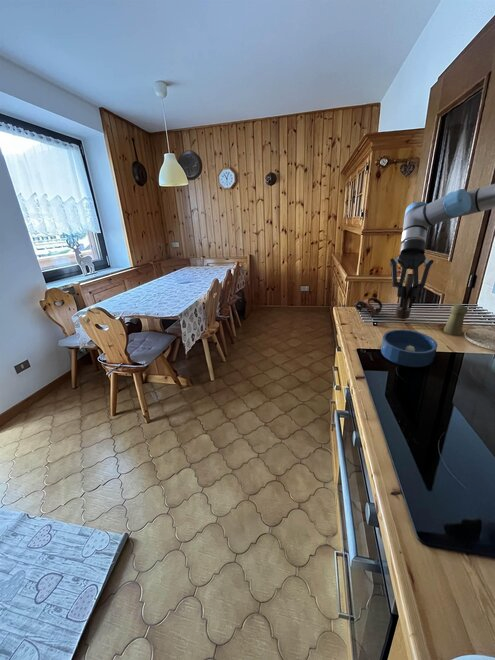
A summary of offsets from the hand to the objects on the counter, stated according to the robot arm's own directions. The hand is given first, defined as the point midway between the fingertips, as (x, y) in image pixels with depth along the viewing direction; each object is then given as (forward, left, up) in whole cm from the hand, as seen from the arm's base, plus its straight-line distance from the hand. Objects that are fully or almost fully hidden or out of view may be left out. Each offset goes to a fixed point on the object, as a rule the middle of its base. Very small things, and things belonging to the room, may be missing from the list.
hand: (405, 305), depth 92 cm
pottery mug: (+28, -24, -19) cm, 41 cm away
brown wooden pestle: (+2, -4, -6) cm, 7 cm away
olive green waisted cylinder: (-5, -32, -19) cm, 37 cm away
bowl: (-2, -3, -19) cm, 19 cm away
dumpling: (-3, -2, -16) cm, 17 cm away
